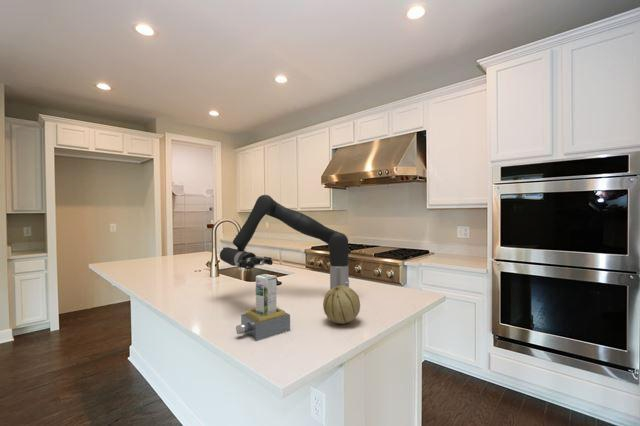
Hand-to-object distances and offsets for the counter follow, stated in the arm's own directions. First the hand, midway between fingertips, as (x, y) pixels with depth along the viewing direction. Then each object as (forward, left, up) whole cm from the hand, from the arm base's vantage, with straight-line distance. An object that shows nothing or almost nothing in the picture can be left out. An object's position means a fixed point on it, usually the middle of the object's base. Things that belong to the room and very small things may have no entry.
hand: (262, 263), depth 128 cm
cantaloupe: (-33, 0, -23) cm, 40 cm away
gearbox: (-5, +14, -23) cm, 27 cm away
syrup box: (-6, +12, -17) cm, 22 cm away
